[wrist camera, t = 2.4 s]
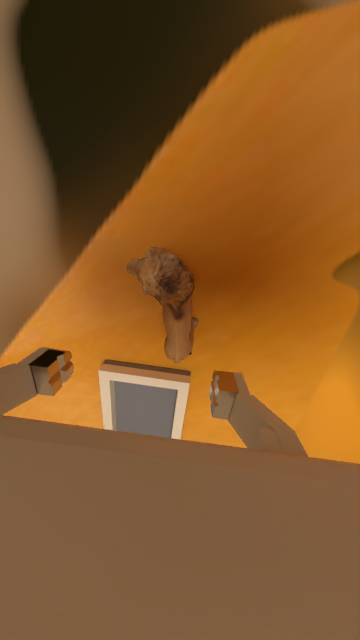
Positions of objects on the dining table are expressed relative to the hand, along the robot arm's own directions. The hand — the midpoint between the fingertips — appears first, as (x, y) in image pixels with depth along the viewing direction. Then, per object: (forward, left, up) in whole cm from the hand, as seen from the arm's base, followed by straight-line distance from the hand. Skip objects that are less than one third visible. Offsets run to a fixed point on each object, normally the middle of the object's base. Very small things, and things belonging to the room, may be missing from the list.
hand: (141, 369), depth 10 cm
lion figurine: (-1, 0, -14) cm, 14 cm away
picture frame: (+3, +22, -14) cm, 26 cm away
